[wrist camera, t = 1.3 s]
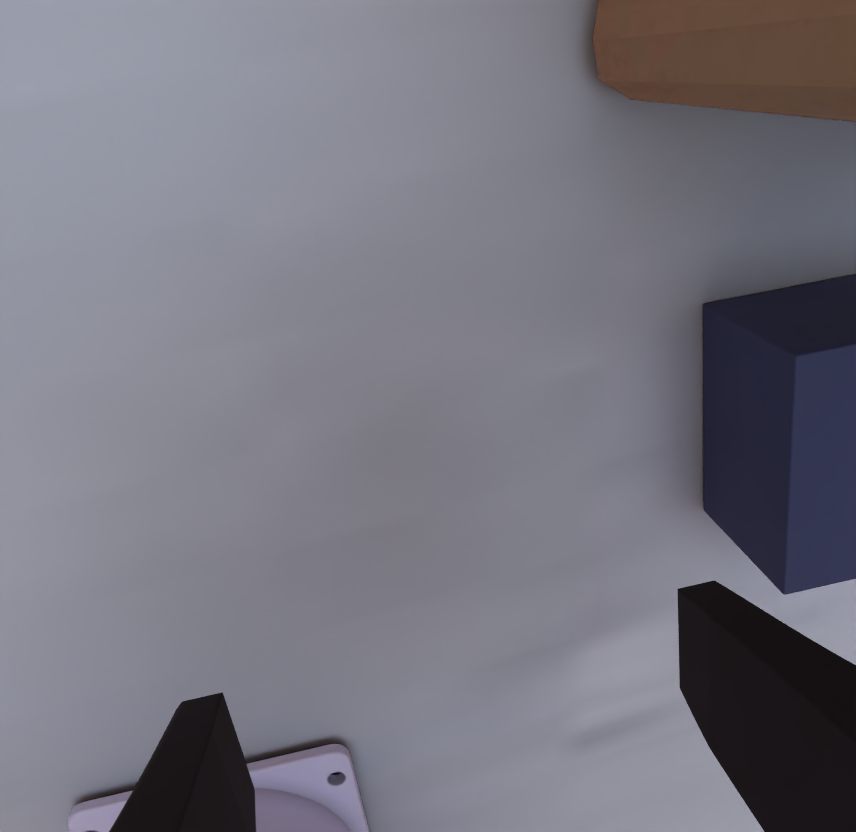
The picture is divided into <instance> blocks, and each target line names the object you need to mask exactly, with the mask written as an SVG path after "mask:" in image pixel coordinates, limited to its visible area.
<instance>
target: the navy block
mask: <svg viewBox="0 0 856 832" xmlns="http://www.w3.org/2000/svg"><path fill="white" fill-rule="evenodd" d="M703 411H704V511H705V512H706V513H707V514H708V515H709V516H710V517H711V518H712V519H713V520H714V522H715V523H716V524H717V525H718V526H719V527H720V528H721V529H722V530H723V531H724V532H725V533H726V534H727V535H728V536H729V537H730V538H731V539H732V541H733V542H734V543H735V544H736V545H737V546H738V547H739V548H740V549H741V550H742V551H743V552H744V553H745V554H746V555H747V556H748V557H749V558H750V559H751V561H752V562H753V563H754V564H755V565H756V566H757V567H758V568H759V569H760V570H761V571H762V572H763V573H764V574H765V575H766V576H767V577H768V578H769V580H770V581H771V582H772V583H773V584H774V585H775V586H776V587H777V588H778V589H779V590H780V591H781V592H782V593H783V594H790V593H794V592H799V591H803V590H808V589H812V588H816V587H821V586H825V585H829V584H834V583H838V582H843V581H847V580H851V579H856V275H851V276H846V277H841V278H836V279H830V280H825V281H820V282H815V283H810V284H805V285H799V286H794V287H789V288H784V289H779V290H774V291H768V292H763V293H758V294H753V295H748V296H743V297H737V298H732V299H727V300H722V301H717V302H712V303H706V304H704V305H703Z"/></svg>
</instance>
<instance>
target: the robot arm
mask: <svg viewBox="0 0 856 832" xmlns="http://www.w3.org/2000/svg"><path fill="white" fill-rule="evenodd" d="M678 623H679V669H680V689H681V691H682V693H683V695H684V697H685V699H686V702H687V704H688V706H689V708H690V710H691V712H692V714H693V716H694V718H695V720H696V722H697V724H698V726H699V728H700V730H701V732H702V734H703V736H704V738H705V740H706V742H707V744H708V746H709V747H710V749H711V750H712V752H713V754H714V755H715V757H716V758H717V760H718V761H719V763H720V765H721V766H722V768H723V769H724V771H725V772H726V774H727V775H728V777H729V778H730V780H731V781H732V783H733V785H734V786H735V788H736V789H737V791H738V792H739V794H740V795H741V797H742V798H743V800H744V801H745V803H746V804H747V806H748V807H749V809H750V810H751V812H752V813H753V815H754V816H755V818H756V819H757V821H758V822H759V824H760V825H761V827H762V828H763V830H764V831H765V832H856V665H854V664H852V663H851V662H849V661H847V660H845V659H843V658H842V657H840V656H838V655H836V654H835V653H833V652H831V651H829V650H828V649H826V648H824V647H823V646H821V645H819V644H817V643H816V642H814V641H812V640H811V639H809V638H807V637H806V636H804V635H802V634H801V633H799V632H797V631H796V630H794V629H792V628H791V627H789V626H787V625H786V624H784V623H783V622H781V621H779V620H778V619H776V618H774V617H773V616H771V615H770V614H768V613H766V612H765V611H763V610H761V609H760V608H758V607H757V606H755V605H753V604H752V603H750V602H749V601H747V600H745V599H744V598H742V597H741V596H739V595H737V594H736V593H734V592H733V591H731V590H729V589H728V588H726V587H724V586H723V585H721V584H719V583H718V582H716V581H710V582H706V583H702V584H697V585H693V586H688V587H684V588H680V589H678ZM334 772H341V773H340V774H338V775H332V773H334ZM67 824H68V829H69V831H70V832H92V831H90V830H94V831H97V832H369V828H368V824H367V820H366V816H365V812H364V808H363V804H362V800H361V796H360V792H359V788H358V784H357V780H356V776H355V772H354V769H353V765H352V761H351V757H350V753H349V751H348V749H347V748H346V747H344V746H343V745H339V744H329V745H325V746H320V747H316V748H312V749H308V750H303V751H299V752H295V753H291V754H286V755H282V756H278V757H273V758H269V759H265V760H261V761H256V762H252V763H248V764H246V761H245V758H244V755H243V752H242V749H241V746H240V743H239V740H238V737H237V734H236V731H235V728H234V725H233V722H232V719H231V716H230V713H229V710H228V707H227V704H226V701H225V698H224V695H223V693H218V694H214V695H209V696H205V697H201V698H196V699H192V700H187V701H183V702H182V703H181V704H180V705H179V707H178V708H177V709H176V711H175V713H174V715H173V717H172V719H171V721H170V723H169V725H168V727H167V729H166V731H165V732H164V734H163V736H162V738H161V740H160V742H159V744H158V746H157V748H156V750H155V751H154V753H153V755H152V757H151V759H150V761H149V763H148V764H147V766H146V768H145V770H144V772H143V773H142V775H141V777H140V779H139V781H138V783H137V784H136V786H135V788H134V790H132V791H128V792H124V793H119V794H115V795H111V796H106V797H102V798H98V799H94V800H89V801H85V802H82V803H79V804H77V805H75V806H74V807H73V808H72V810H71V812H70V815H69V818H68V822H67Z"/></svg>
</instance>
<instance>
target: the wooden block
mask: <svg viewBox="0 0 856 832" xmlns="http://www.w3.org/2000/svg"><path fill="white" fill-rule="evenodd" d="M593 46H594V51H595V56H596V65H597V74H598V77H599V79H600V81H602V82H603V83H605V84H606V85H608V86H610V87H611V88H613V89H614V90H616V91H618V92H619V93H621V94H622V95H624V96H626V97H627V98H629V99H632V100H642V101H652V102H662V103H672V104H682V105H692V106H702V107H712V108H722V109H732V110H742V111H752V112H762V113H772V114H782V115H793V116H803V117H813V118H823V119H833V120H843V121H853V122H856V0H599V2H598V9H597V16H596V22H595V29H594V35H593Z"/></svg>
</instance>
